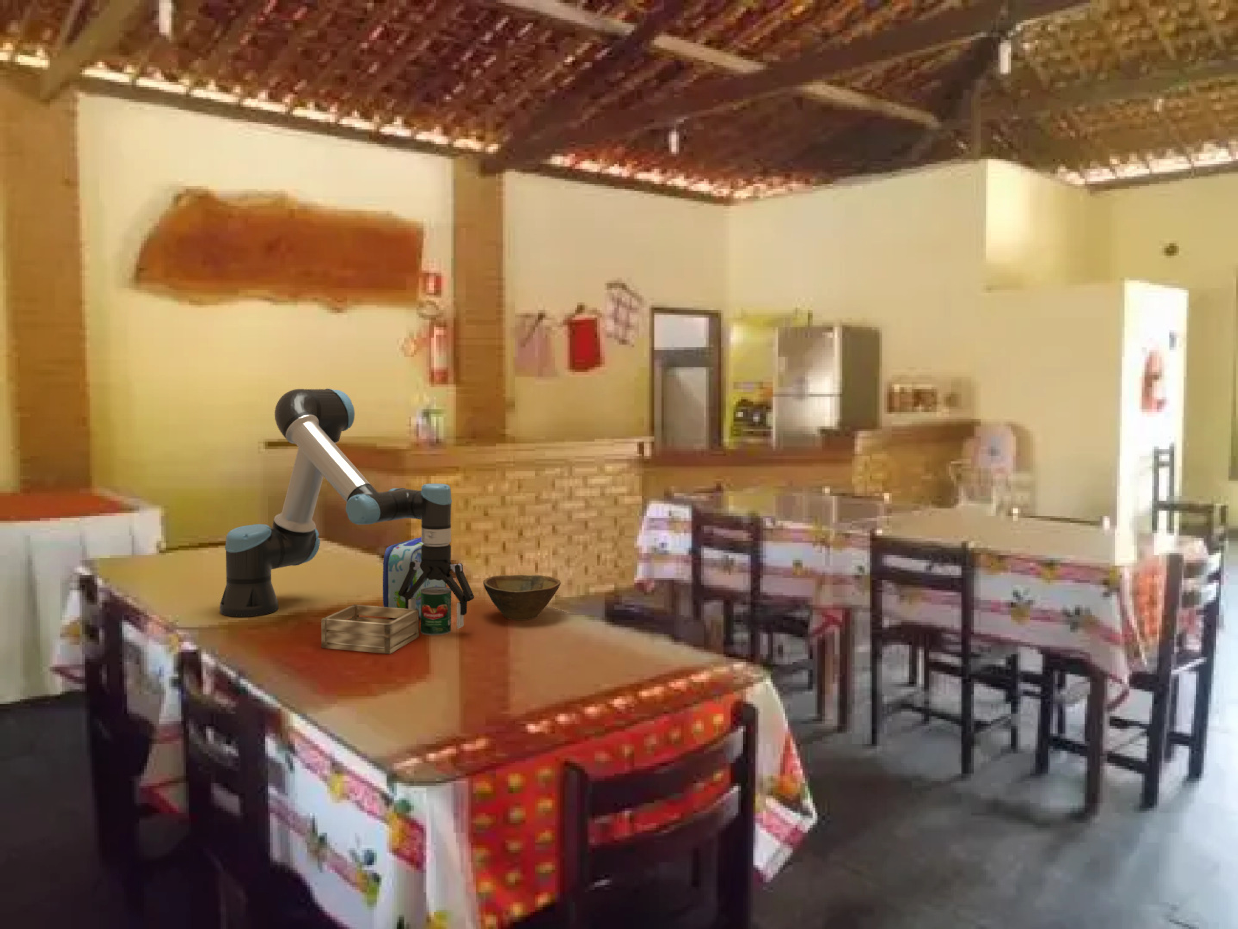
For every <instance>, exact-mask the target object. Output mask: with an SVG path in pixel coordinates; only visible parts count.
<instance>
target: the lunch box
mask: <svg viewBox="0 0 1238 929" xmlns="http://www.w3.org/2000/svg"><path fill="white" fill-rule="evenodd" d="M421 537H422V536H420V537H415V538H413V539H409V540H405V541H402V542H398V543H395V544H392V545H390V546H388V547H386V549H385V552H384V555H383V562H382V604H383V607H392V608H404V609H405V598H404V597H403V596H399V595H398V593H399V590H400V588H401V586H402V584H403V582H404V580H405V578H406V575H407V573H408V571H409V565H410V562H412V561H415V560H417V561H418V562H421V561H422V558H421V546H422V545H423V544H424V543H422V542H421ZM422 573H423V571H422V569H421V568H420V567H419V569H418V570H417V571H416V574H415V576H414V578H413V580H412V582H411V584H410V586H409V588H408V591H409V590H410V589H411V587H412V586H413V585H414V584H415V583H416V581H417V580H418V579H419V577H420V576H421V575H422ZM428 587H447V584H446V583H445V582H444V581H443V580H440V581H439V580H435V579H434V580H429V579H426V581H425V582H424V583H423V584H422V585H421V587H420V588H419V589H418V590H417V591H416V593H415V594H414V595H413V597H415V598H416V609H417V610H419V619H421V589H424V588H428ZM408 591H407V592H408ZM413 597H412V598H413Z"/></svg>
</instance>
